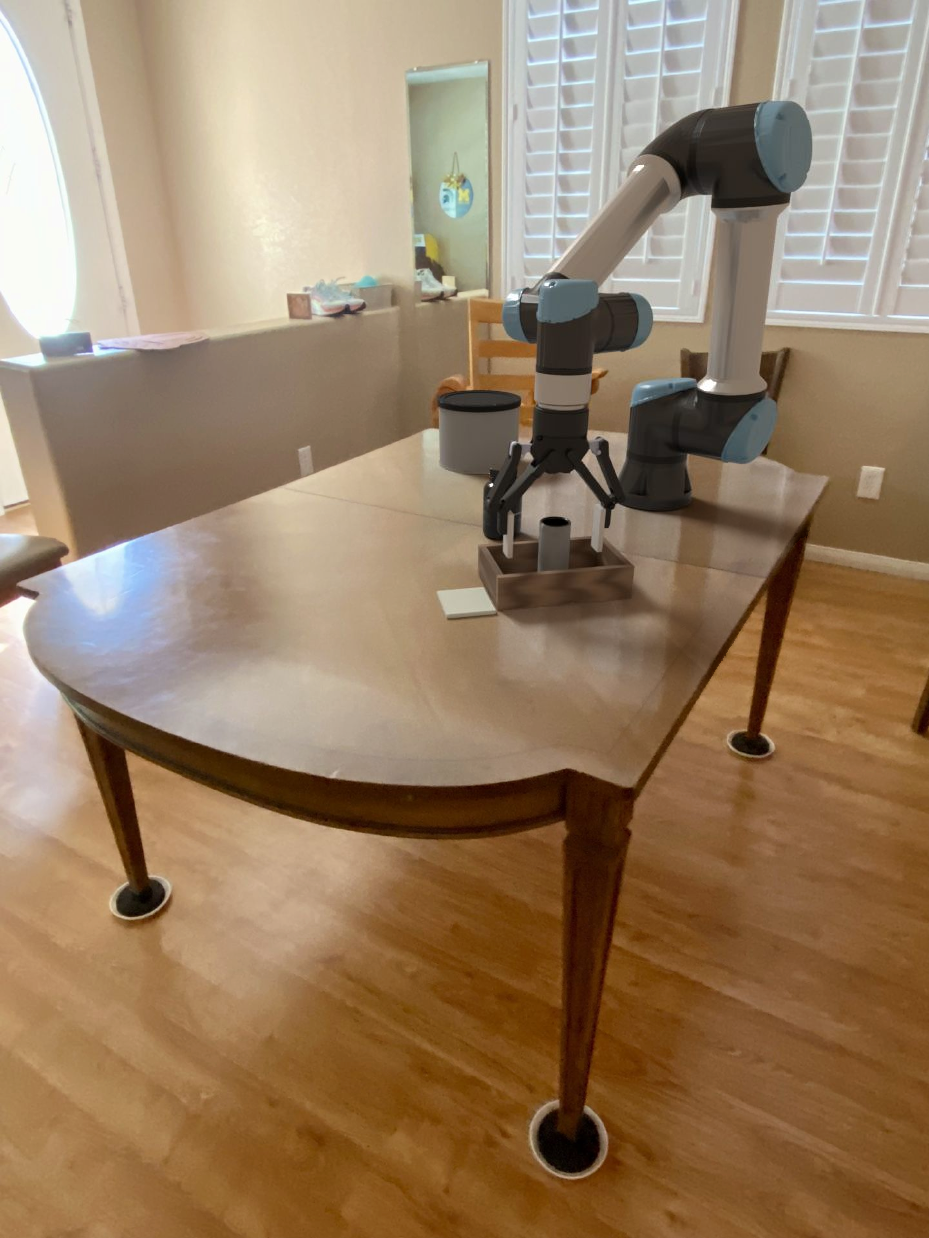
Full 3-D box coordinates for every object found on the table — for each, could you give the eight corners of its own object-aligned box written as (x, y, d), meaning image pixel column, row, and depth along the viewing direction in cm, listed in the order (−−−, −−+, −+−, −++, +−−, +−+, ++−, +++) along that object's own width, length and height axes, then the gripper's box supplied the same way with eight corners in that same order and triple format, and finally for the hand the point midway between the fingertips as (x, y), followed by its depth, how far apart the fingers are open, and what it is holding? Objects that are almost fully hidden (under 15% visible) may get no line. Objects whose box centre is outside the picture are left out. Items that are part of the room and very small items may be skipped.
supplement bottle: (518, 542, 132) (520, 473, 126) (479, 539, 133) (479, 471, 127) (523, 528, 138) (525, 463, 132) (486, 526, 139) (486, 461, 133)
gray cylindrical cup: (570, 582, 116) (574, 517, 112) (563, 594, 112) (567, 528, 108) (540, 578, 118) (543, 514, 113) (533, 590, 114) (536, 524, 109)
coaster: (483, 590, 114) (483, 586, 113) (495, 613, 107) (495, 610, 106) (436, 594, 112) (436, 590, 112) (446, 618, 105) (446, 614, 105)
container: (521, 474, 169) (523, 405, 162) (436, 474, 169) (434, 405, 162) (517, 452, 186) (519, 389, 179) (439, 452, 186) (438, 389, 179)
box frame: (599, 564, 122) (602, 535, 120) (631, 598, 111) (634, 566, 109) (478, 574, 119) (478, 544, 117) (497, 610, 108) (498, 578, 105)
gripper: (637, 396, 108) (622, 537, 118) (465, 402, 104) (464, 548, 113) (659, 406, 102) (642, 555, 111) (476, 412, 97) (474, 567, 107)
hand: (552, 552), depth 112 cm, fingers open, 13 cm apart
